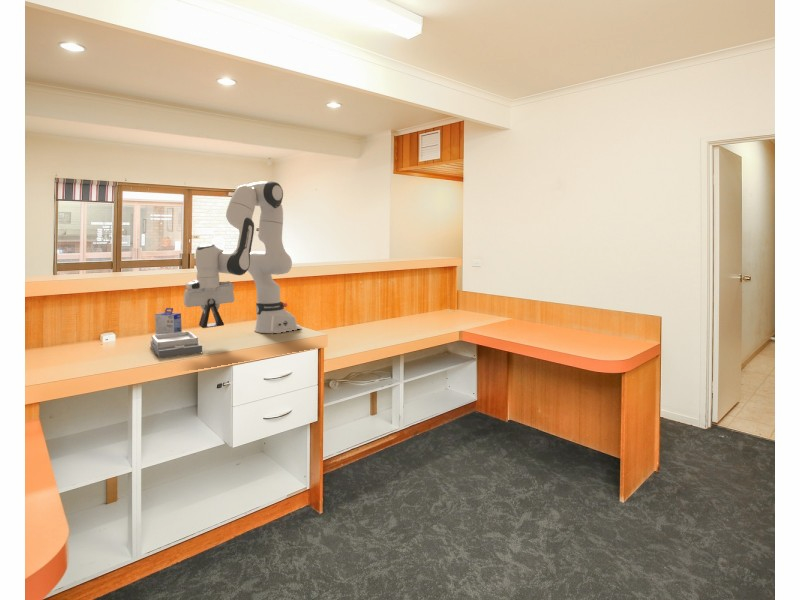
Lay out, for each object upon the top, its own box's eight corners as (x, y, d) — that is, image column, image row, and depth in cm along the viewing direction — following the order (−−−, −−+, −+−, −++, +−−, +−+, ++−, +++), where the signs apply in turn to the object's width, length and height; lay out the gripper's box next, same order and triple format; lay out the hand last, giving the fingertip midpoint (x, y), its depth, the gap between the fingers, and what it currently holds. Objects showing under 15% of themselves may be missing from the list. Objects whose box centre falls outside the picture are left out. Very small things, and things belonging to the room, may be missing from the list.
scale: (191, 342, 217) (190, 330, 216) (202, 352, 200) (201, 339, 200) (150, 347, 207) (150, 335, 207) (159, 358, 191) (158, 344, 190)
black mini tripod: (202, 328, 206) (200, 300, 204) (198, 325, 211) (196, 298, 209) (224, 325, 211) (222, 298, 209) (220, 322, 216) (218, 296, 214)
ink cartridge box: (183, 339, 222) (181, 308, 220) (175, 342, 217) (173, 310, 215) (163, 338, 224) (161, 307, 222) (155, 341, 219) (153, 309, 217)
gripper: (231, 280, 216) (233, 310, 219) (181, 284, 205) (184, 316, 207) (235, 281, 211) (237, 313, 214) (184, 285, 200) (187, 319, 202)
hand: (210, 314), depth 210 cm, fingers closed on black mini tripod, 2 cm apart
